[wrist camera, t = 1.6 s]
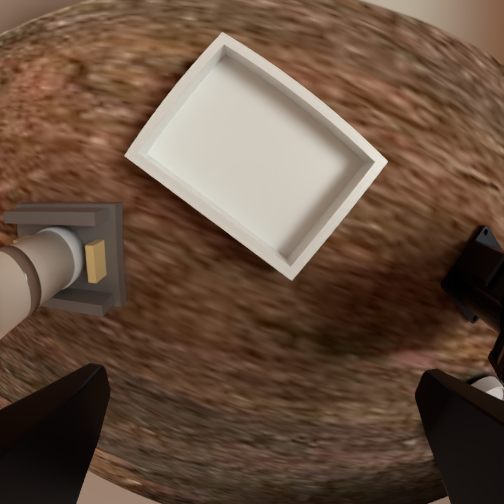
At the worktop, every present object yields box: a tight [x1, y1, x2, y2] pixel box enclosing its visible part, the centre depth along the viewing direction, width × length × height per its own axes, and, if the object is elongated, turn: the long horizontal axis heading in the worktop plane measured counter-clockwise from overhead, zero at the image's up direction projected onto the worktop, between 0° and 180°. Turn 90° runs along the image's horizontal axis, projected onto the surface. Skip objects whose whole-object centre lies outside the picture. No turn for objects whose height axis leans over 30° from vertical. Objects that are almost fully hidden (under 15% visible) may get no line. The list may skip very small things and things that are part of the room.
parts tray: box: [124, 32, 388, 281], centre depth 17 cm, size 12×9×2 cm
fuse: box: [0, 225, 86, 339], centre depth 13 cm, size 4×4×12 cm
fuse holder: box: [3, 202, 127, 317], centre depth 18 cm, size 9×7×3 cm
